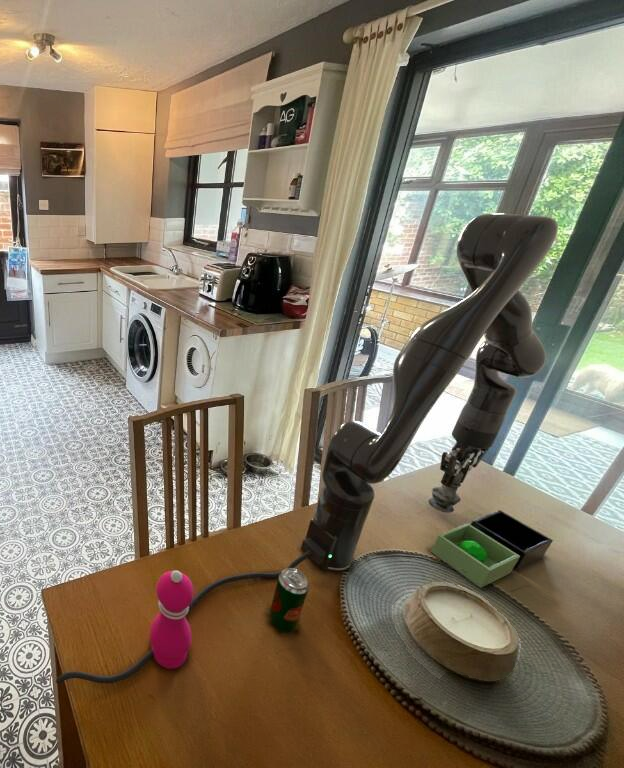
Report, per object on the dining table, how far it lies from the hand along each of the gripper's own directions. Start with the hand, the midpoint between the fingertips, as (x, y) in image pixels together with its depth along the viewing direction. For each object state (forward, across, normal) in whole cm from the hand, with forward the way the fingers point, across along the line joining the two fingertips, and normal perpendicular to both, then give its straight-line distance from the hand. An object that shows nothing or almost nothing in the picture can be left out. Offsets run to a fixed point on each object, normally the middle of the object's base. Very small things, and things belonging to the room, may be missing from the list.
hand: (451, 482), depth 101 cm
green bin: (+9, +10, +13) cm, 19 cm away
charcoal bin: (+9, -2, +13) cm, 16 cm away
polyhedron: (+9, +10, +13) cm, 19 cm away
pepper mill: (+11, +82, +6) cm, 83 cm away
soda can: (+10, +59, +9) cm, 60 cm away
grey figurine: (+7, 0, 0) cm, 7 cm away
